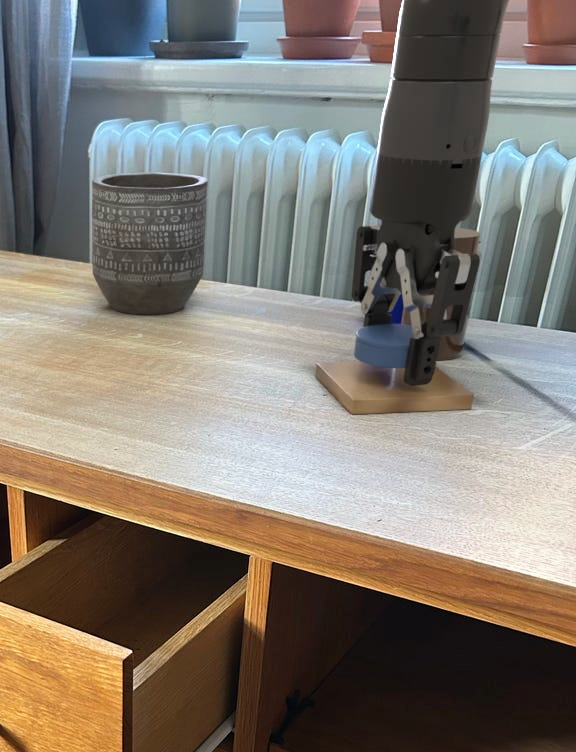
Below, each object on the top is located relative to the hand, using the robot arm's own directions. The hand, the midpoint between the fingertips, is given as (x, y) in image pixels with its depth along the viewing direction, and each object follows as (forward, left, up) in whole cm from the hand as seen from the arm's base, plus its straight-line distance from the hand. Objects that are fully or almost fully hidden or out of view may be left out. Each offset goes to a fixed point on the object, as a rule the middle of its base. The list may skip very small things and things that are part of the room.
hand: (394, 370), depth 80 cm
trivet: (0, 0, -2) cm, 2 cm away
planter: (+16, -32, -2) cm, 36 cm away
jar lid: (0, 0, +3) cm, 3 cm away
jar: (-8, -11, -2) cm, 14 cm away
